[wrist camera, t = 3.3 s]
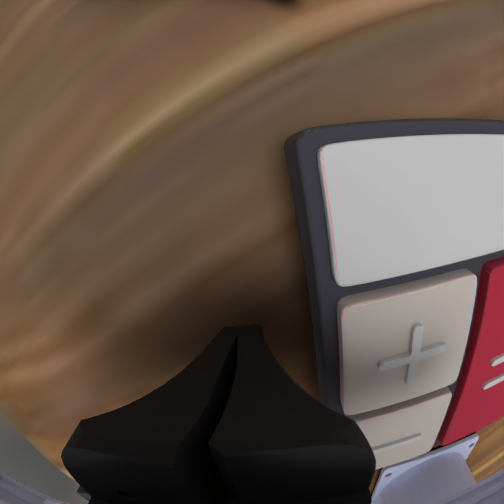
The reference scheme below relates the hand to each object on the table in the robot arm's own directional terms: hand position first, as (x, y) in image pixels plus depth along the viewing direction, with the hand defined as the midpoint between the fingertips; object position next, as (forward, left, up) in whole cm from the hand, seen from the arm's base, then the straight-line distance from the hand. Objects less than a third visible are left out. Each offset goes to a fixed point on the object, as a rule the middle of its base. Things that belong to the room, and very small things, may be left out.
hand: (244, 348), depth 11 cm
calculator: (0, -8, -2) cm, 8 cm away
